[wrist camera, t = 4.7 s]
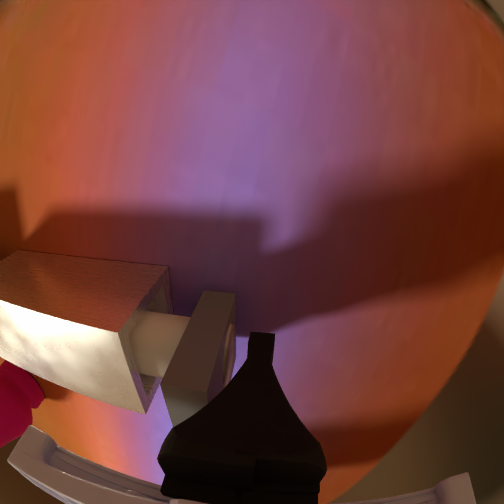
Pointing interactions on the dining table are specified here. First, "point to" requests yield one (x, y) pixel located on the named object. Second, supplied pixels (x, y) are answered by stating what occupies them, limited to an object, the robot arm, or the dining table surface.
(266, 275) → the dining table surface
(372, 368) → the dining table surface
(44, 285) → the sleeve
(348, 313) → the dining table surface
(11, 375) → the pepper mill
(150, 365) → the tube
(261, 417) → the robot arm
